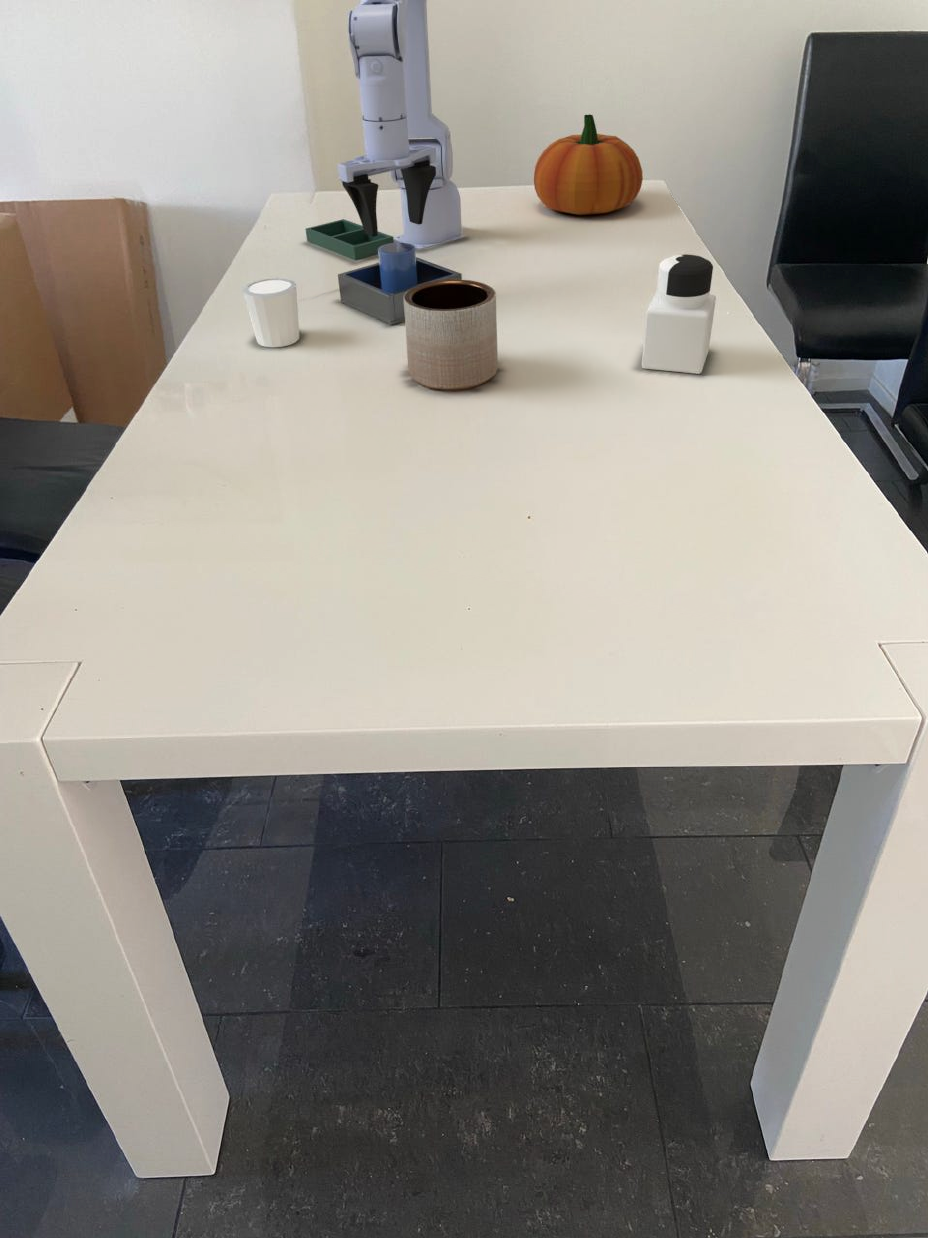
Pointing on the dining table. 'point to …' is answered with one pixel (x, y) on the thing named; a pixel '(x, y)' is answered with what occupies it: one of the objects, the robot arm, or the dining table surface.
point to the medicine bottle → (680, 316)
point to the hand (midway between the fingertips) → (393, 228)
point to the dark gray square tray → (369, 297)
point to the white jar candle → (273, 311)
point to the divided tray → (347, 239)
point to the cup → (397, 266)
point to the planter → (451, 333)
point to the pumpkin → (588, 173)
